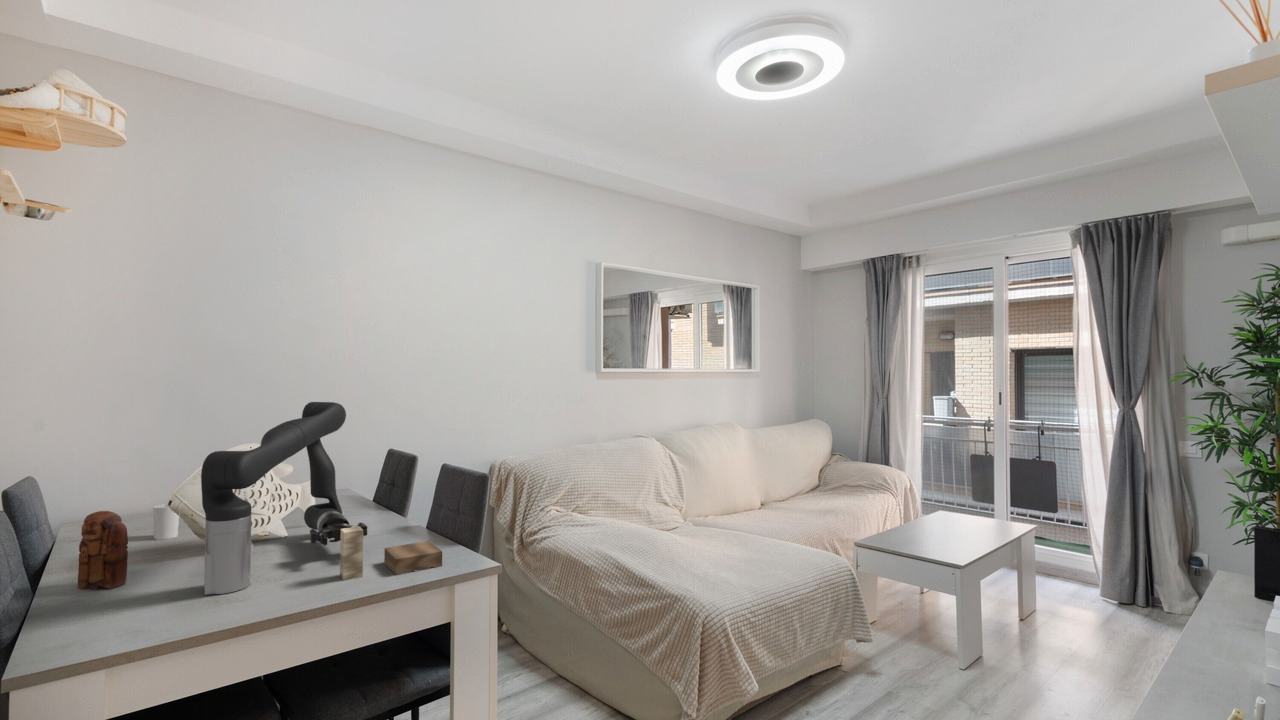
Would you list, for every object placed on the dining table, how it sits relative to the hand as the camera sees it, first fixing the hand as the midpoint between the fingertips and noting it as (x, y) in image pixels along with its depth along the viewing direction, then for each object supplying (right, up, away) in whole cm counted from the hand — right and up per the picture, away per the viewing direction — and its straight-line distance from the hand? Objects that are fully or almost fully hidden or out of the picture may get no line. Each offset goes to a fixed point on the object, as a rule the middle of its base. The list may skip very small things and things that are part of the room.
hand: (343, 538), depth 162 cm
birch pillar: (+6, -7, -9) cm, 13 cm away
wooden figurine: (-52, -7, -16) cm, 54 cm away
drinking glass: (-68, -7, +25) cm, 73 cm away
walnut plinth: (+19, -7, +1) cm, 20 cm away
